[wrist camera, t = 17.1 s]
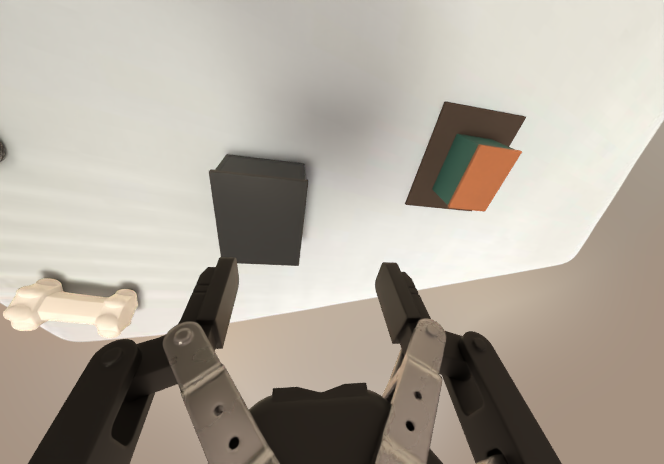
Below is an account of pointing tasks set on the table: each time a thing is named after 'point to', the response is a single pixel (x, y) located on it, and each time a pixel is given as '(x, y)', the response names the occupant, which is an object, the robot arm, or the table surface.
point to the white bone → (70, 308)
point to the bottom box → (259, 209)
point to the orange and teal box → (474, 172)
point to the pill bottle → (1, 152)
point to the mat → (444, 133)
